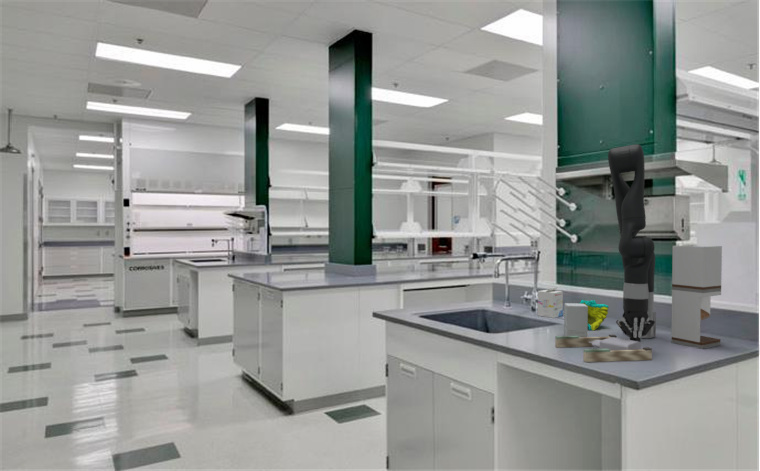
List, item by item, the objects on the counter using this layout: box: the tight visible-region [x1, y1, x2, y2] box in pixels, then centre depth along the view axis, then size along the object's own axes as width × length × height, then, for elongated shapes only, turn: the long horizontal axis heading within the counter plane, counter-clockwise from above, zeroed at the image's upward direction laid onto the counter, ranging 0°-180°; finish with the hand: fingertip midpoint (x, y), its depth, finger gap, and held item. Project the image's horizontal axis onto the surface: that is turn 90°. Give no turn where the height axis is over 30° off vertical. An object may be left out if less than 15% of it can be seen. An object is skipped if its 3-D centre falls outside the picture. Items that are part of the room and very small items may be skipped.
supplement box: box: [563, 302, 589, 337], centre depth 188 cm, size 7×7×13 cm
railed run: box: [554, 334, 653, 363], centre depth 166 cm, size 22×20×4 cm
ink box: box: [537, 286, 564, 319], centre depth 234 cm, size 9×8×13 cm
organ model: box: [578, 299, 609, 332], centre depth 208 cm, size 15×12×13 cm
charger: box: [589, 337, 642, 350], centre depth 167 cm, size 5×9×15 cm
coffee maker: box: [670, 244, 723, 350], centre depth 179 cm, size 11×11×35 cm
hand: (635, 348), depth 167 cm, fingers closed
